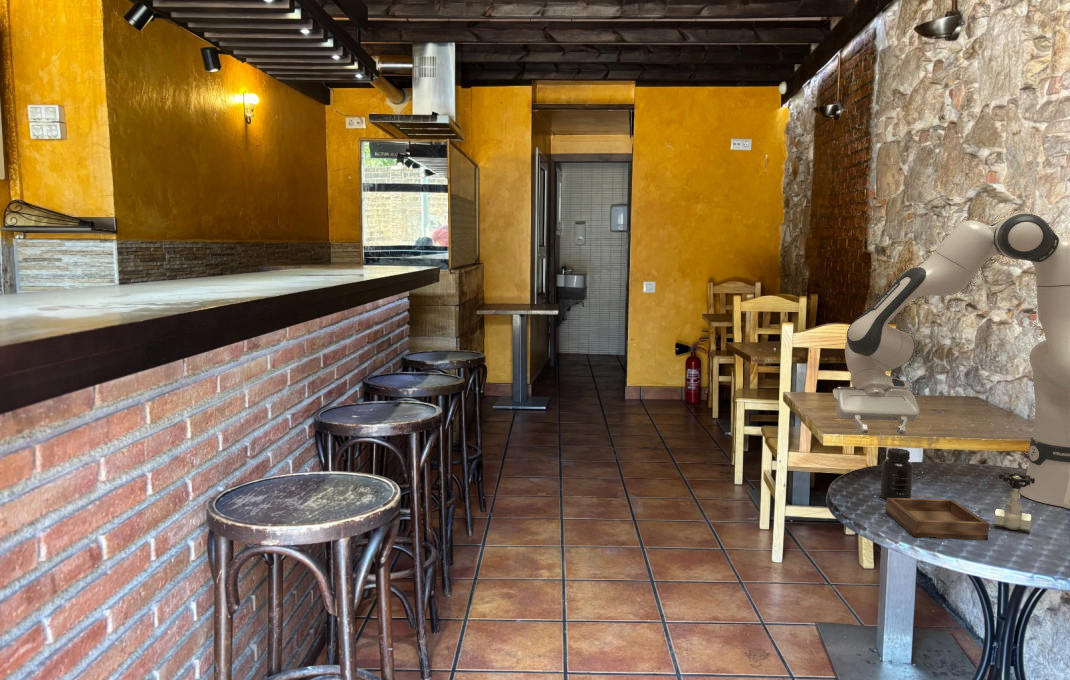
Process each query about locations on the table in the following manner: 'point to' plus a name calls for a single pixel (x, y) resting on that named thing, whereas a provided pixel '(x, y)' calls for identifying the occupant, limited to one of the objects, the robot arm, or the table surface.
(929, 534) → the walnut tray
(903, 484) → the supplement bottle
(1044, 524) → the table surface
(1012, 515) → the valve
